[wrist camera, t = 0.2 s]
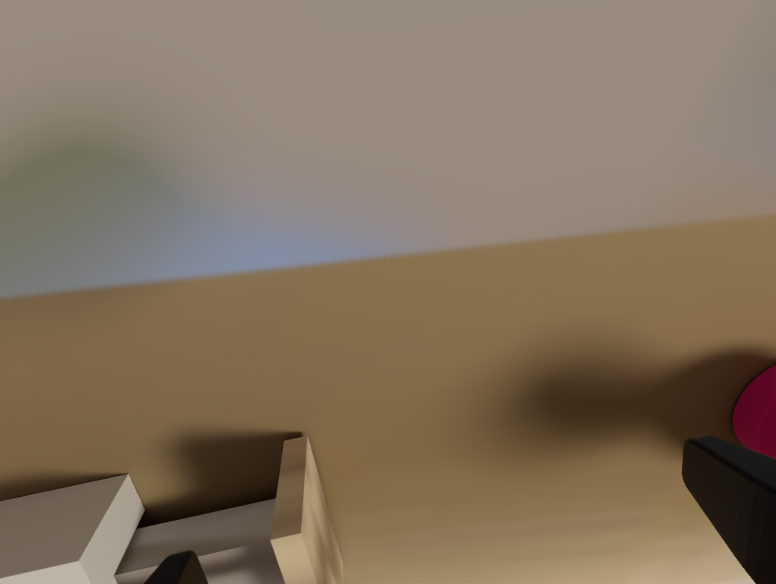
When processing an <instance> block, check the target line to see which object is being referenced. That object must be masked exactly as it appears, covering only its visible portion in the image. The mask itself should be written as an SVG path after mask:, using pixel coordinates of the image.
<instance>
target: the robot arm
mask: <svg viewBox="0 0 776 584" xmlns="http://www.w3.org/2000/svg"><path fill="white" fill-rule="evenodd" d="M682 477H683V480H684V483H685V485H686V487H687V489H688V490H689V491H690V493H691V494H692V496H693V497H694V499H695V500H696V502H697V503H698V504H699V506H700V507H701V509H702V510H703V512H704V513H705V514H706V516H707V517H708V519H709V520H710V522H711V523H712V524H713V526H714V527H715V529H716V530H717V532H718V533H719V534H720V536H721V537H722V539H723V540H724V542H725V543H726V545H727V546H728V547H729V549H730V550H731V552H732V553H733V555H734V556H735V557H736V559H737V560H738V561H739V563H740V564H741V565H742V567H743V568H744V569H745V571H746V572H747V573H748V574H749V576H750V577H751V578H752V579H753V581H754V582H755V583H756V584H776V459H774V458H772V457H769V456H766V455H764V454H761V453H758V452H756V451H753V450H750V449H748V448H745V447H742V446H740V445H737V444H735V443H732V442H729V441H727V440H724V439H721V438H719V437H716V436H713V435H709V434H704V435H700V436H695V437H691V438H688V439H686V441H685V442H684V447H683V462H682ZM143 584H208V581H207V578H206V576H205V573H204V571H203V569H202V566H201V564H200V561H199V559H198V557H197V555H196V553H195V552H194V551H192V550H187V551H183V552H179V553H174V554H171V555H169V556H167V557H166V558H165V559H164V560H163V561H162V563H161V564H160V565H159V566H158V567H157V568H156V569H155V571H154V572H153V573H152V574H151V575H150V576H149V578H148V579H147V580H146V581H145V582H144V583H143Z"/></svg>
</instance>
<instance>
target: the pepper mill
mask: <svg viewBox="0 0 776 584" xmlns="http://www.w3.org/2000/svg"><path fill="white" fill-rule="evenodd" d="M732 424H733V428H734V433H735V435H736V437H737V439H738V440H739V441H740V442H741V443H742V444H743V445H744V446H745V447H747V448H748V449H750V450H753V451H756V452H758V453H761V454H764V455H766V456H769V457H772V458H774V459H776V365H774V366H771V367H770V368H768V369H767V370H765V371H764V372H762V373H761V374H759V375H758V376H757V377H756V378H755V379H754V380H752V381H751V382H750V383H749V384H748V386H747V387H746V388H745V389H744V391H743V392H742V394H741V395H740V397H739V399H738V402H737V404H736V406H735V408H734V411H733V420H732Z"/></svg>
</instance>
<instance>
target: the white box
mask: <svg viewBox="0 0 776 584" xmlns="http://www.w3.org/2000/svg"><path fill="white" fill-rule="evenodd" d="M187 550H192V551H194V552H195V553H196V555H197V557H198V559H199V561H200V564H201V566H202V569H203V571H204V573H205V576H206V578H207V581H208V584H343V562H342V559H341V555H340V552H339V548H338V544H337V541H336V537H335V533H334V530H333V526H332V523H331V519H330V515H329V512H328V508H327V505H326V501H325V497H324V494H323V490H322V486H321V483H320V479H319V476H318V472H317V468H316V465H315V461H314V457H313V454H312V450H311V447H310V443H309V439H308V436H305V437H300V438H295V439H291V440H286V441H284V445H283V452H282V460H281V467H280V474H279V481H278V488H277V495H276V498H275V499H271V500H266V501H262V502H257V503H253V504H248V505H244V506H239V507H235V508H230V509H226V510H221V511H216V512H212V513H207V514H203V515H198V516H194V517H189V518H185V519H180V520H176V521H171V522H167V523H162V524H157V525H153V526H148V527H144V528H139V529H136V530H135V532H134V534H133V536H132V538H131V540H130V542H129V544H128V546H127V548H126V551H125V553H124V555H123V557H122V559H121V561H120V563H119V565H118V567H117V569H116V572H115V574H114V578H115V580H116V582H117V584H143V583H144V582H145V581H146V580H147V579H148V578H149V576H150V575H151V574H152V573H153V572H154V571H155V569H156V568H157V567H158V566H159V565H160V564H161V563H162V561H163V560H164V559H165V558H166V557H167V556H169V555H171V554H174V553H179V552H183V551H187Z"/></svg>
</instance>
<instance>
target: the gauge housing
mask: <svg viewBox="0 0 776 584" xmlns="http://www.w3.org/2000/svg"><path fill="white" fill-rule="evenodd" d="M144 511H145V509H144V507H143V505H142V503H141V500H140V498H139V496H138V494H137V492H136V490H135V487H134V485H133V483H132V481H131V479H130V477H129V474H126V475H121V476H116V477H112V478H107V479H102V480H98V481H93V482H88V483H84V484H79V485H74V486H69V487H65V488H60V489H55V490H51V491H46V492H41V493H37V494H32V495H27V496H23V497H18V498H13V499H9V500H4V501H0V584H117V582H116V580H115V578H114V574H115V572H116V569H117V567H118V565H119V563H120V561H121V559H122V557H123V555H124V553H125V551H126V548H127V546H128V544H129V542H130V540H131V538H132V536H133V534H134V532H135V530H136V527H137V525H138V523H139V521H140V519H141V517H142V515H143V513H144Z"/></svg>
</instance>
